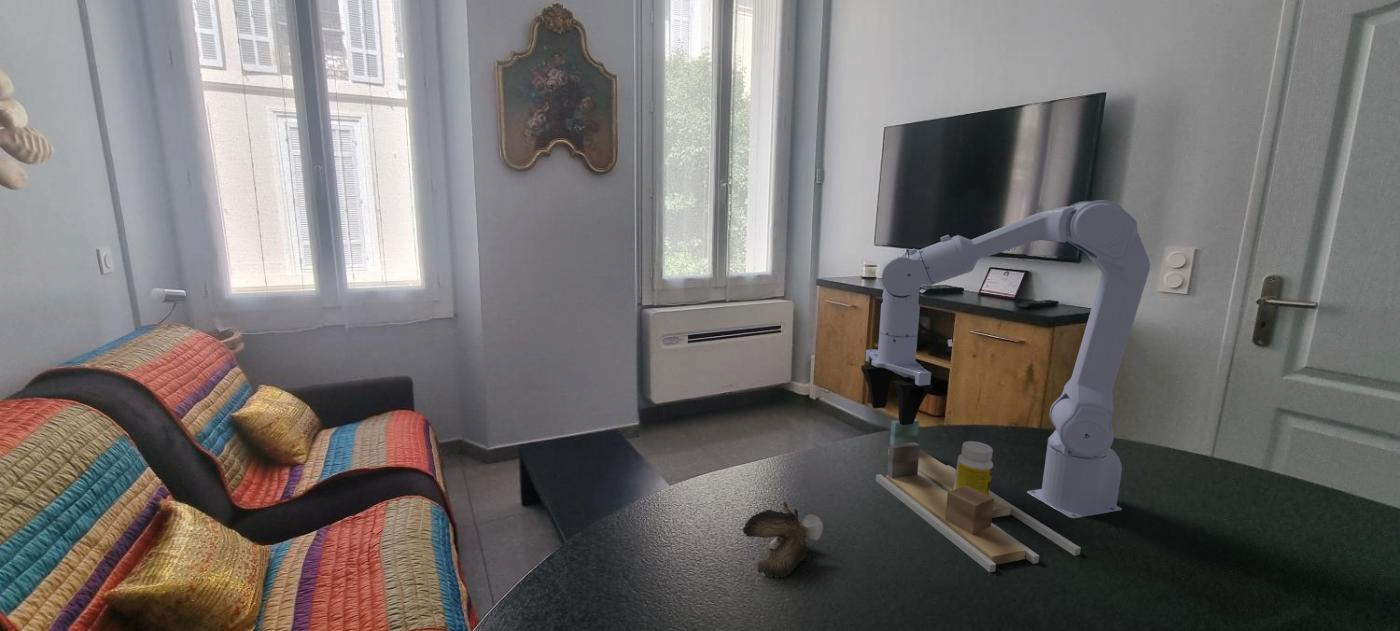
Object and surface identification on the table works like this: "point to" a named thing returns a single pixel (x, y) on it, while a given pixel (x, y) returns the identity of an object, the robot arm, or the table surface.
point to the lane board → (1015, 512)
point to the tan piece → (935, 464)
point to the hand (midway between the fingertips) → (892, 415)
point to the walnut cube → (969, 509)
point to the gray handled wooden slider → (944, 504)
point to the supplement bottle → (974, 467)
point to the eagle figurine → (783, 538)
